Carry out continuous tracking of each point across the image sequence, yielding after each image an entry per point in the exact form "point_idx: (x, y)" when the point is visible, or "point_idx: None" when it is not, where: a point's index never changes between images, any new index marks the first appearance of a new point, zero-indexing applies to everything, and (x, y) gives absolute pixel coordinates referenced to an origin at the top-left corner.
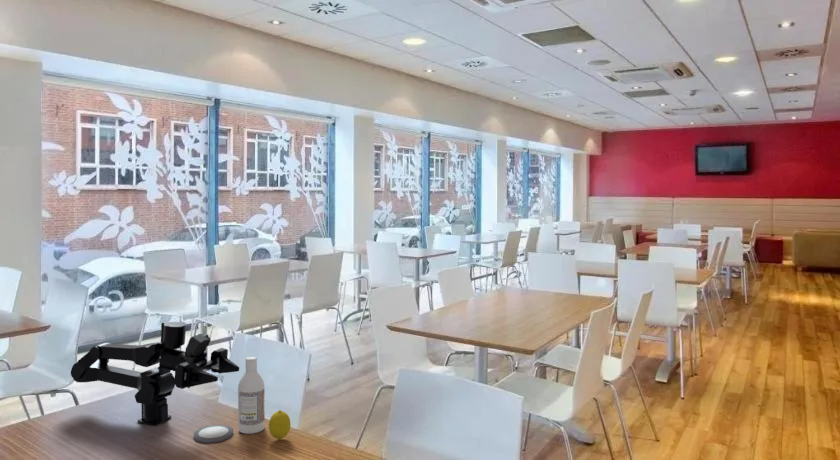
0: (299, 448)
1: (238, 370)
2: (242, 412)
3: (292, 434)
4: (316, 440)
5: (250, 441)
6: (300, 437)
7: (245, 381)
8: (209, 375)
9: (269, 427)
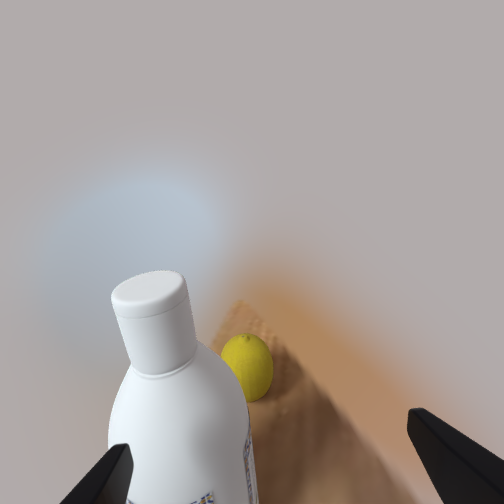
0: None
1: (132, 460)
2: (256, 489)
3: None
4: (222, 342)
5: (294, 459)
6: None
7: (229, 380)
8: (500, 460)
9: (269, 379)
